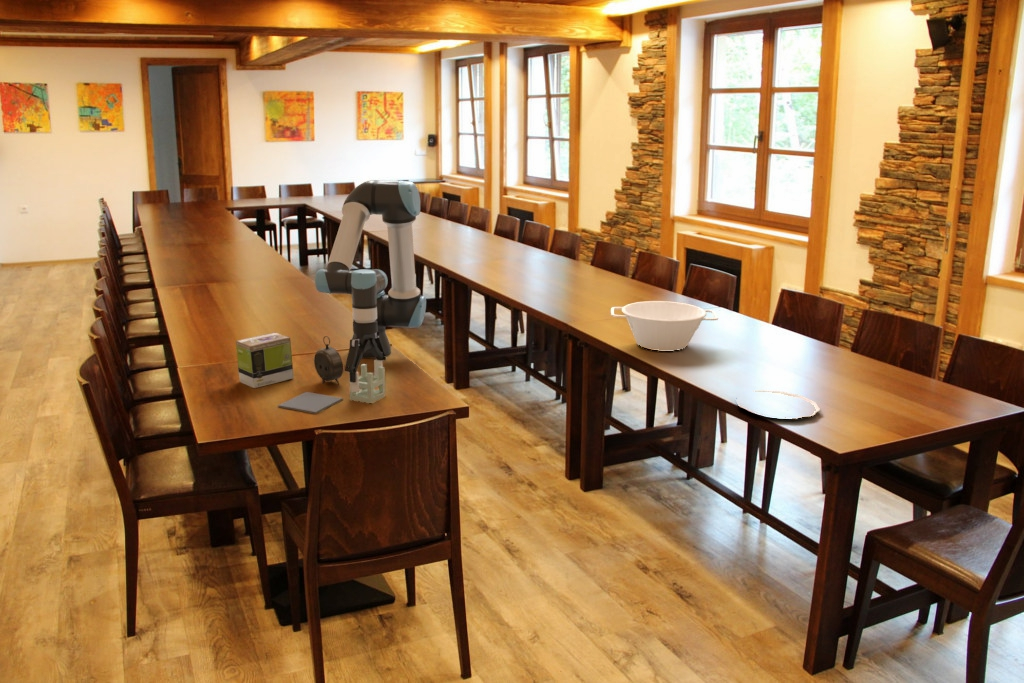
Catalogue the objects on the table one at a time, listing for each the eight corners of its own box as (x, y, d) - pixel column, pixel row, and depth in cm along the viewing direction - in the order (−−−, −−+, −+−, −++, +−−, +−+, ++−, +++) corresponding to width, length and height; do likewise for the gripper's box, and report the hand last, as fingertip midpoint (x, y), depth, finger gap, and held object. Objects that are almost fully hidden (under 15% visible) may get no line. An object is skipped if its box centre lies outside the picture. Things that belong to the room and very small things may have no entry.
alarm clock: (345, 385, 294) (343, 337, 290) (331, 388, 290) (329, 340, 286) (325, 377, 301) (323, 331, 297) (312, 381, 298) (309, 334, 293)
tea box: (278, 372, 306) (276, 331, 302) (294, 379, 299) (291, 337, 295) (238, 382, 296) (235, 339, 292) (253, 389, 289) (250, 345, 285)
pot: (609, 355, 330) (611, 318, 326) (609, 333, 361) (610, 299, 357) (719, 359, 327) (722, 322, 323) (709, 336, 357) (712, 302, 353)
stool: (364, 392, 287) (363, 363, 284) (385, 396, 284) (384, 367, 281) (350, 400, 280) (348, 370, 277) (371, 404, 277) (370, 374, 274)
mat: (306, 393, 285) (306, 391, 285) (342, 399, 280) (342, 398, 280) (278, 407, 273) (278, 405, 273) (315, 413, 267) (315, 412, 267)
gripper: (376, 310, 287) (378, 373, 293) (331, 327, 265) (333, 395, 271) (396, 313, 284) (398, 376, 290) (352, 330, 262) (354, 398, 268)
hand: (367, 385), depth 280 cm, fingers open, 13 cm apart
